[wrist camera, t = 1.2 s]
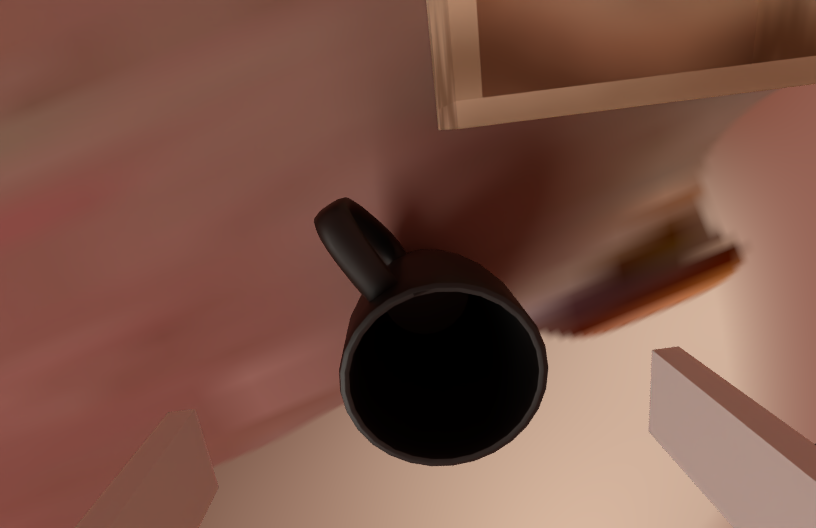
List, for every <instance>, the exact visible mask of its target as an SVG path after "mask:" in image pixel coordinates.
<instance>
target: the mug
mask: <svg viewBox="0 0 816 528" xmlns="http://www.w3.org/2000/svg"><path fill="white" fill-rule="evenodd" d="M314 223H315V227H316V230H317V233H318V235H319V237H320V239H321V241H322V243H323V244H324V246H325V247H326V249H327V250H328V252H329V253H330V255H331V256H332V258H333V259H334V260H335V262H336V263H337V264H338V266H339V267H340V268H341V270H342V271H343V272H344V273H345V275H346V276H347V277H348V278H349V280H350V281H351V282H352V283H353V284H354V286H355V287H356V288H357V289H358V290H359V292H360V293H361V294H362V295H361V297H360V299H359V301H358V303H357V305H356V307H355V309H354V311H353V313H352V315H351V318H350V322H349V326H348V330H347V335H346V340H345V344H344V349H343V354H342V359H341V363H340V368H339V377H340V392H341V395H342V398H343V401H344V405H345V408H346V410H347V413H348V414H349V416H350V418H351V419H352V421H353V422H354V424H355V426H356V427H357V429H358V430H359V431H360V432H361V433H362V434H363V435H364V436H365V437H366V438H367V439H368V440H369V441H370V442H371V443H372V444H373V445H375V446H376V447H378V448H379V449H381V450H383V451H384V452H386V453H387V454H389V455H391V456H394V457H397V458H399V459H402V460H405V461H407V462H410V463H416V464H422V465H428V466H449V465H457V464H462V463H467V462H471V461H475V460H478V459H480V458H482V457H485V456H487V455H489V454H492V453H494V452H496V451H497V450H499V449H500V448H502V447H503V446H505V445H506V444H508V443H509V442H511V441H512V440H513V439H514V438H515V437H516V436H517V435H518V434H519V433H520V432H522V431H523V430H524V428H526V427H527V425H528V424H529V422H530V421H531V419H532V418H533V416H534V415H535V413H536V412H537V410H538V409H539V406H540V403H541V401H542V398H543V395H544V393H545V390H546V383H547V374H548V363H547V355H546V348H545V344H544V342H543V339H542V337H541V335H540V332H539V330H538V328H537V326H536V324H535V323H534V322H533V320H532V319H531V318H530V316H529V315H528V314H527V313H526V311H525V310H524V309H523V307H522V306H521V305H520V303H519V302H518V301H517V299H516V298H515V297H514V296H513V294H512V293H511V292H510V290H509V289H508V288H507V287H506V286H505V284H504V283H503V282H502V281H500V280H499V279H498V278H497V277H495V276H494V275H493V274H492V273H490V272H489V271H488V270H487V269H485V268H484V267H483V266H481V265H480V264H478V263H476V262H474V261H472V260H470V259H467V258H465V257H463V256H461V255H459V254H455V253H451V252H447V251H442V250H417V251H413V252H409V253H406V252H405V250H404V249H403V247H402V246H401V244H400V243H399V242H398V240H397V239H396V238H395V237H394V236H393V234H392V233H391V232H390V231H389V230H388V229H387V228H386V227H385V226H384V225H383V224H382V223H381V222H379V221H378V220H377V219H376V218H375V217H374V216H373V215H371V214H370V213H369V212H368V211H367V210H365V209H364V208H363V207H362V206H360V205H359V204H357V203H356V202H354V201H353V200H351V199H349V198H346V197H345V198H341V199H338V200H336V201H334V202H332V203H331V204H329V205H328V206H326V207H325V208H324V209H322V210H321V211H320V212H319V213H318V214H317V216H316V217H315V219H314Z"/></svg>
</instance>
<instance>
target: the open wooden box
mask: <svg viewBox="0 0 816 528" xmlns="http://www.w3.org/2000/svg"><path fill="white" fill-rule="evenodd" d="M426 5H427V15H428V26H429V36H430V47H431V57H432V68H433V78H434V89H435V99H436V110H437V120H438V130H450V129H462V128H470V127H478V126H486V125H494V124H502V123H510V122H518V121H526V120H534V119H541V118H549V117H557V116H565V115H573V114H581V113H589V112H597V111H605V110H613V109H621V108H628V107H636V106H644V105H652V104H660V103H668V102H676V101H684V100H692V99H700V98H708V97H715V96H723V95H731V94H739V93H747V92H755V91H763V90H771V89H779V88H787V87H795V86H802V85H810V84H816V0H426Z"/></svg>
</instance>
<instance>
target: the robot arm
mask: <svg viewBox="0 0 816 528" xmlns="http://www.w3.org/2000/svg"><path fill="white" fill-rule="evenodd" d="M650 389H651V390H650V412H649V432H650V434H651V435H652V436H653V437H654V438H655V439H656V440H657V441H658V443H659V444H660V445H661V446H662V447H663V448H664V449H665V450H666V452H667V453H668V454H669V455H670V456H671V457H672V458H673V460H675V462H676V463H677V464H678V465H679V466H680V467H681V468H682V470H683V471H684V472H685V473H686V474H687V475H688V477H690V479H691V480H692V481H693V482H694V483H695V484H696V486H697V487H698V488H699V489H700V490H701V491H702V492H703V493H704V494H705V496H706V497H707V498H708V499H709V500H710V501H711V503H712V504H713V505H714V506H715V507H716V508H717V509H718V510H719V512H720V513H721V514H722V515H723V516H724V517H725V518H726V519H727V521H728V522H729V523H730V524H731V525H732V526H733V527H734V528H816V444H814V443H812V442H811V441H809V440H808V439H806V438H805V437H804V436H802V435H801V434H800V433H798V432H797V431H795V430H794V429H793V428H791V427H790V426H788V425H787V424H785V423H784V422H783V421H781V420H780V419H779V418H777V417H776V416H774V415H773V414H772V413H770V412H769V411H768V410H766V409H765V408H763V407H762V406H761V405H759V404H758V403H756V402H755V401H754V400H752V399H751V398H750V397H748V396H747V395H745V394H744V393H743V392H741V391H740V390H738V389H737V388H736V387H734V386H733V385H731V384H730V383H729V382H727V381H726V380H724V379H723V378H722V377H720V376H719V375H718V374H716V373H715V372H713V371H712V370H710V369H709V368H708V367H706V366H705V365H703V364H702V363H701V362H699V361H698V360H697V359H695V358H694V357H692V356H691V355H689V354H688V353H687V352H685V351H684V350H683V349H681V348H680V347H672V348H664V349H656V350H652V364H651V388H650ZM218 488H219V486H218V483H217V480H216V477H215V473H214V470H213V467H212V463H211V460H210V457H209V453H208V450H207V447H206V443H205V440H204V437H203V433H202V430H201V427H200V423H199V420H198V417H197V414H196V410H195V409H191V410H183V411H175V412H168V413H167V415H166V416H165V417H164V418H163V420H162V421H161V422H160V423H159V424H158V426H157V427H156V428H155V429H154V431H153V432H152V433H151V434H150V436H149V437H148V438H147V439H146V440H145V442H144V443H143V444H142V445H141V447H140V448H139V449H138V450H137V452H136V453H135V454H134V455H133V456H132V458H131V459H130V460H129V461H128V463H127V464H126V465H125V466H124V468H123V469H122V470H121V471H120V472H119V474H118V475H117V476H116V477H115V479H114V480H113V481H112V482H111V484H110V485H109V486H108V487H107V488H106V490H105V491H104V492H103V493H102V495H101V496H100V497H99V498H98V500H97V501H96V502H95V503H94V504H93V506H92V507H91V508H90V509H89V511H88V512H87V513H86V514H85V516H84V517H83V518H82V519H81V520H80V522H79V523H78V524H77V525H76V527H75V528H199V526H200V524H201V522H202V520H203V518H204V516H205V514H206V512H207V510H208V508H209V506H210V504H211V502H212V500H213V498H214V496H215V494H216V492H217V490H218Z"/></svg>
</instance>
